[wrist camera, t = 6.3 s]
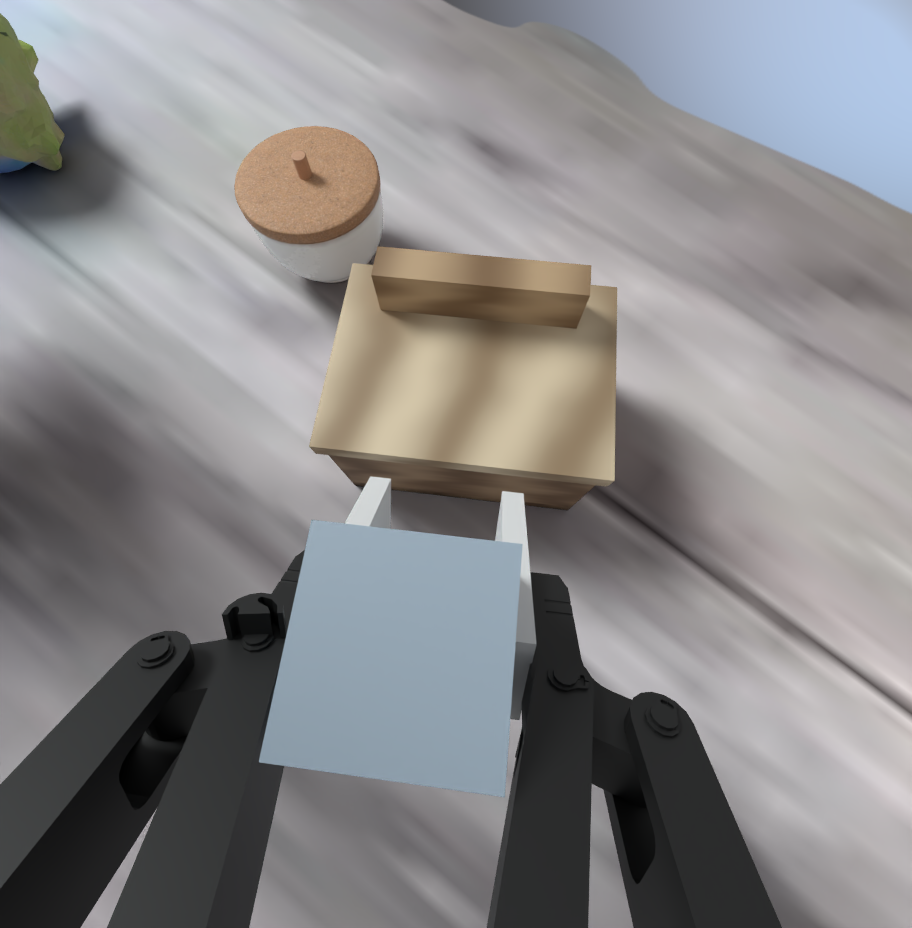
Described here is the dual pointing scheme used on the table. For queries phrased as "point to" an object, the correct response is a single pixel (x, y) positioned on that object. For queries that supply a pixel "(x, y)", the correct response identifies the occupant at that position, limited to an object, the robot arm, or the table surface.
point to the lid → (474, 367)
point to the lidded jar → (313, 201)
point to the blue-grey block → (399, 659)
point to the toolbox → (463, 482)
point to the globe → (24, 109)
